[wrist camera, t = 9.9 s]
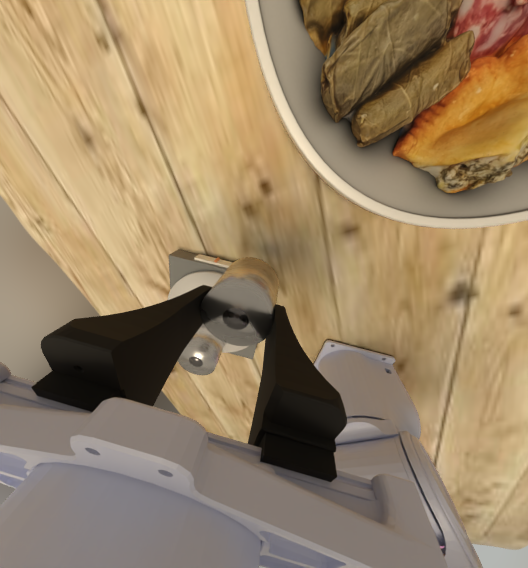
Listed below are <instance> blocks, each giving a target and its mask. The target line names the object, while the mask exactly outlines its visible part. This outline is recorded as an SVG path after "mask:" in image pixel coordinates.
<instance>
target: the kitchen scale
mask: <svg viewBox="0 0 528 568" xmlns="http://www.w3.org/2000/svg"><path fill="white" fill-rule="evenodd" d="M232 263H233V262H229V261H225V260H221V259H220V258H213V257H209V256H205V255H201V254H199V255H198V254H194V253H190V252H186V251H182V250H177V251H175V252H173V253H172V254H170V255H169V270H170V289H171V290H170V293H169V295H168V300H170V299H172V298H175V297H177V296H180V295H182V294H184V293H186V292H189V291H191V290H193V289H195V288H197V287H199V286H202V285H207V286H210V287H213V286H214V285H215V284H216V282H217V281H218V280H219V279H220V277H221V276H222V275H223V274H224V272H225V271H226V270H227V268H228V267H229V266H230V265H231V264H232ZM256 345H257V344H255V345H251V346H236V345H231V344H228V343H226V344H225V347H224V349H223V351H222V352H224V353H231V354H235V355H238V356H242V357H246V358H250V359H253V357H254V353H255V349H256Z"/></svg>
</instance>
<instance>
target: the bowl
mask: <svg viewBox="0 0 528 568" xmlns="http://www.w3.org/2000/svg"><path fill="white" fill-rule="evenodd" d="M245 5H246V11H247V16H248V20H249V25H250V29H251V34H252V38H253V42H254V46H255V49H256V53H257V57H258V60H259V64H260V67H261V71H262V74H263V77H264V80H265V83H266V86H267V89H268V91H269V94H270V96H271V99H272V101H273V104H274V107H275V109H276V111H277V113H278V115H279V118H280V120H281V122H282V124H283V126H284V128H285V130H286V131H287V133H288V135H289V137H290V139H291V140H292V142H293V143H294V145H295V147H296V148H297V150H298V151H299V153H300V154H301V155H302V157H303V158H304V159H305V161H306V162H307V163H308V164H309V166H310V167H311V168H312V169H313V170H314V172H315V173H316V174H317V175H318V176H319V177H320V178H321V179H322V180H323V181H324V182H325V183H327V184H328V185H329V186H330V187H331V188H332V189H333V190H335V191H336V192H337V193H339V194H340V195H341V196H343V197H344V198H346V199H347V200H349V201H351V202H352V203H354V204H356V205H358V206H360V207H361V208H363V209H365V210H367V211H370V212H372V213H374V214H377V215H380V216H382V217H385V218H388V219H391V220H394V221H398V222H402V223H406V224H411V225H416V226H422V227H430V228H445V229H468V228H483V227H491V226H499V225H505V224H511V223H517V222H522V221H526V220H528V0H245Z"/></svg>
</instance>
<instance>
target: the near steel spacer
mask: <svg viewBox="0 0 528 568" xmlns="http://www.w3.org/2000/svg"><path fill="white" fill-rule="evenodd" d="M278 288H279V281H278V277H277V274H276V272H275V271H274V269H273V268H272V267H271V266H270V265H269V264H267V263H266V262H264V261H262V260H260V259H257V258H251V257H246V258H241V259H238V260H236V261H235V262H233V263H232V264H231V265H230V266H229V267H228V268H227V270H226V271H225V272H224V274H223V275H222V276H221V277H220V279H219V280H218V281H217V282H216V284H215V285H214V286H213V287H212V289H211V290H210V291H209V292H208V294H207V295H206V296H205V297H204V299H203V301H202V303H201V306H200V316H201V319H202V322H203V324H204V326H205V327H206V328H207V330H208V331H209V332H210V333H211V334H212V335H213V336H215V337H216V338H218V339H219V340H221V341H223V342H225V343H228V344H231V345H236V346H251V345H255V344H257V343H260V342H261V341H263V340H264V339H265V338H266V337H267V336H268V335H269V333H270V331H271V328H272V324H273V316H274V310H275V304H276V300H277V294H278Z"/></svg>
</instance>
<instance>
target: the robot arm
mask: <svg viewBox="0 0 528 568" xmlns="http://www.w3.org/2000/svg"><path fill="white" fill-rule="evenodd" d="M211 289H212V287H210V286H207V285H202V286H199V287H197V288H195V289H193V290H191V291H189V292H186V293H184V294H182V295H180V296H177V297H175V298H172V299H170V300H167V301H165V302H162V303H159V304H156V305H152V306H149V307H146V308H141V309H137V310H133V311H129V312H124V313H118V314H112V315H106V316H99V317H89V318H80V319H74V320H72V321H70V322H69V323H67V324H66V325H64V326H62V327H60V328H59V329H57V330H55V331H54V332H52V333H50V334H49V335H47V336H46V337H44V338H43V340H42V341H41V348H42V352H43V354H44V356H45V357H46V359H47V361H48V363H49V365H50V367H51V369H52V370H53V371H52V372H50V373H49V374H48V375H46V376H45V377H44V378H43V379H41V380H40V381H39V382H34V381H30V380H27V379H23V378H20V377H17V376H13V375H11V372H10V370H9V369H8V367H6V365H4V364H3V363H1V362H0V483H2V484H4V485H7V486H10V487H12V488H15V490H14V491H13V493H12V494H11V495H10V496H9V497H8V498H7V499H6V500H5V501H4V503H2V504H1V506H0V568H259V566H262V567H266V568H483V567H482V564H481V562H480V560H479V557H478V555H477V553H476V551H475V549H474V547H473V546H472V543H471V542H470V540H469V538H468V536H467V533H466V530H465V527H464V525H463V523H462V520H461V518H460V516H459V514H458V512H457V510H456V507H455V505H454V503H453V501H452V499H451V497H450V495H449V493H448V491H447V489H446V487H445V485H444V483H443V481H442V480H441V478H440V476H439V474H438V472H437V470H436V468H435V466H434V464H433V463H432V461H431V459H430V457H429V455H428V454H427V452H426V450H425V449H424V447H423V445H422V444H421V442H420V441H419V438H420V433H421V426H420V419H419V415H418V412H417V410H416V407H415V405H414V403H413V402H412V400H411V398H410V396H409V394H408V392H407V391H406V389H405V387H404V385H403V383H402V381H401V380H400V378H399V376H398V374H397V372H396V370H395V369H394V367H393V363H394V362H395V359H394V357H392V356H388V355H384V354H381V353H377V352H373V351H369V350H365V349H361V348H358V347H354V346H350V345H346V344H342V343H338V342H335V341H331V340H327V341H325V343H324V345H323V347H322V349H321V351H320V353H319V355H318V357H317V359H316V361H315V363H314V365H313V363H312V362H311V361H310V359H309V358H308V357H307V355H306V354H305V352H304V351H303V349H302V347H301V346H300V344H299V342H298V340H297V338H296V336H295V334H294V332H293V330H292V327H291V325H290V322H289V319H288V316H287V313H286V309H285V307H284V306H280V305H276V304H275V310H274V316H273V324H272V328H271V331H270V333H269V335H268V336H267V337H266V341H265V351H264V361H263V370H262V377H261V382H260V387H259V392H258V397H257V402H256V407H255V412H254V417H253V422H252V427H251V431H250V436H249V441H248V444H246V443H243V442H239V441H236V440H233V439H229V438H226V437H222V436H219V435H215V434H212V433H209V432H206V430H205V428H204V427H203V426H202V425H200V424H199V423H198V422H197V421H195V420H193V419H191V418H188V417H186V416H183V415H180V414H176V413H173V412H169V411H166V410H162V409H159V408H156V407H153V405H154V403H155V401H156V399H157V397H158V395H159V393H160V391H161V390H162V388H163V386H164V384H165V382H166V380H167V378H168V377H169V375H170V373H171V371H172V369H173V368H174V366H175V364H176V362H177V361H178V359H179V357H180V355H181V354H182V352H183V351H184V349H185V348H186V346H187V345H188V343H189V342H190V341H191V339H192V338H193V337H194V335H195V334H196V332H197V331H198V330H199V328H200V327H201V325H202V324H203V322H202V319H201V316H200V306H201V303H202V301H203V299H204V297H205V296H206V295H207V294H208V292H209V291H210V290H211ZM332 344H334V345H332ZM440 546H445V547H444V548H440Z"/></svg>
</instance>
